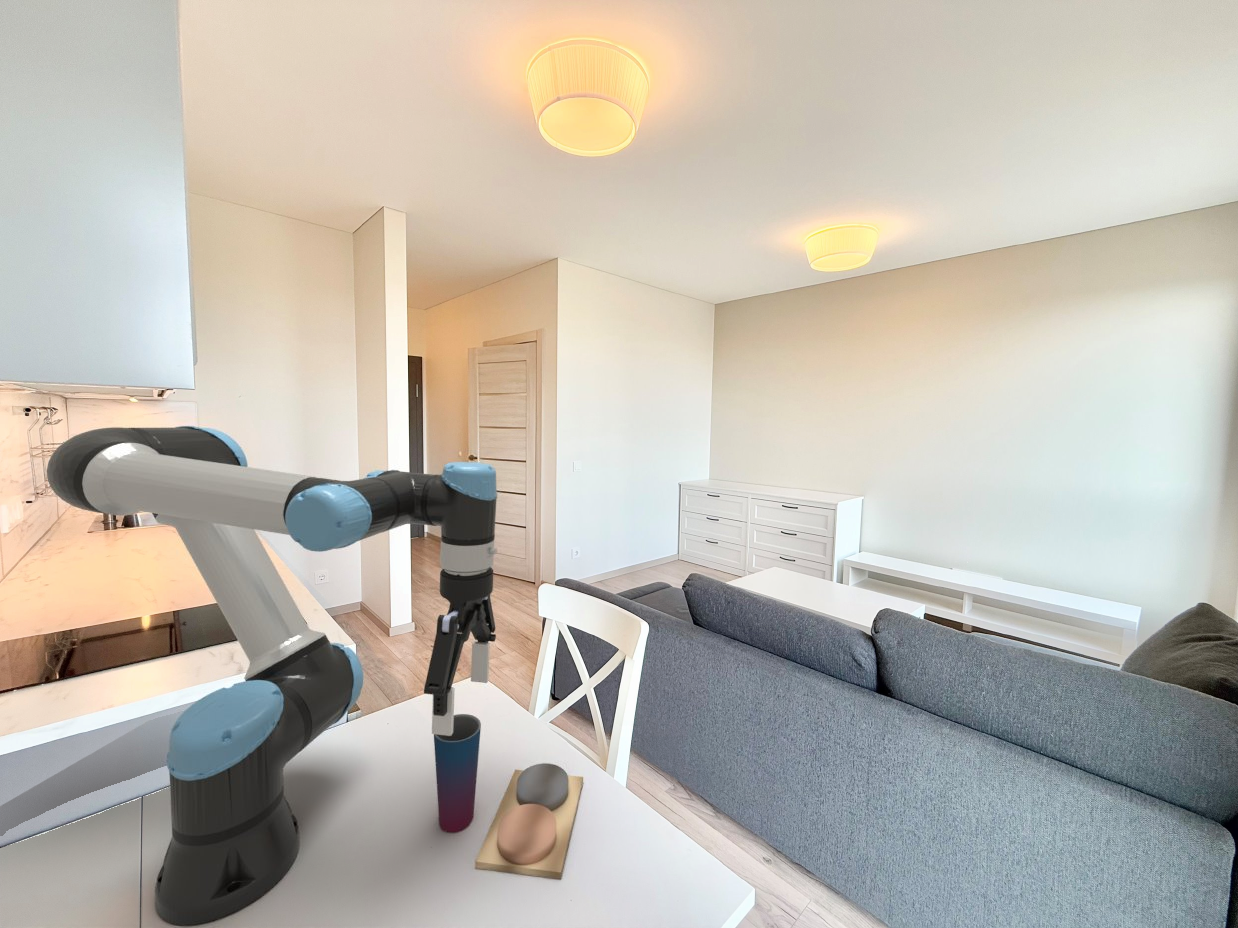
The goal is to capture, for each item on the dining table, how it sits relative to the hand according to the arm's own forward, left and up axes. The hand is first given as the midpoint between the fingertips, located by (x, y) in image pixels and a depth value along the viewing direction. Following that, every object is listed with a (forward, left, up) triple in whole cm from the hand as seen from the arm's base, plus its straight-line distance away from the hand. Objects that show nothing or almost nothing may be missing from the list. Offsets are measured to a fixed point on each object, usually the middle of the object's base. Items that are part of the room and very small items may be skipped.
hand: (462, 704), depth 74 cm
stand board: (+11, +1, -19) cm, 22 cm away
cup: (-1, 0, -19) cm, 19 cm away
